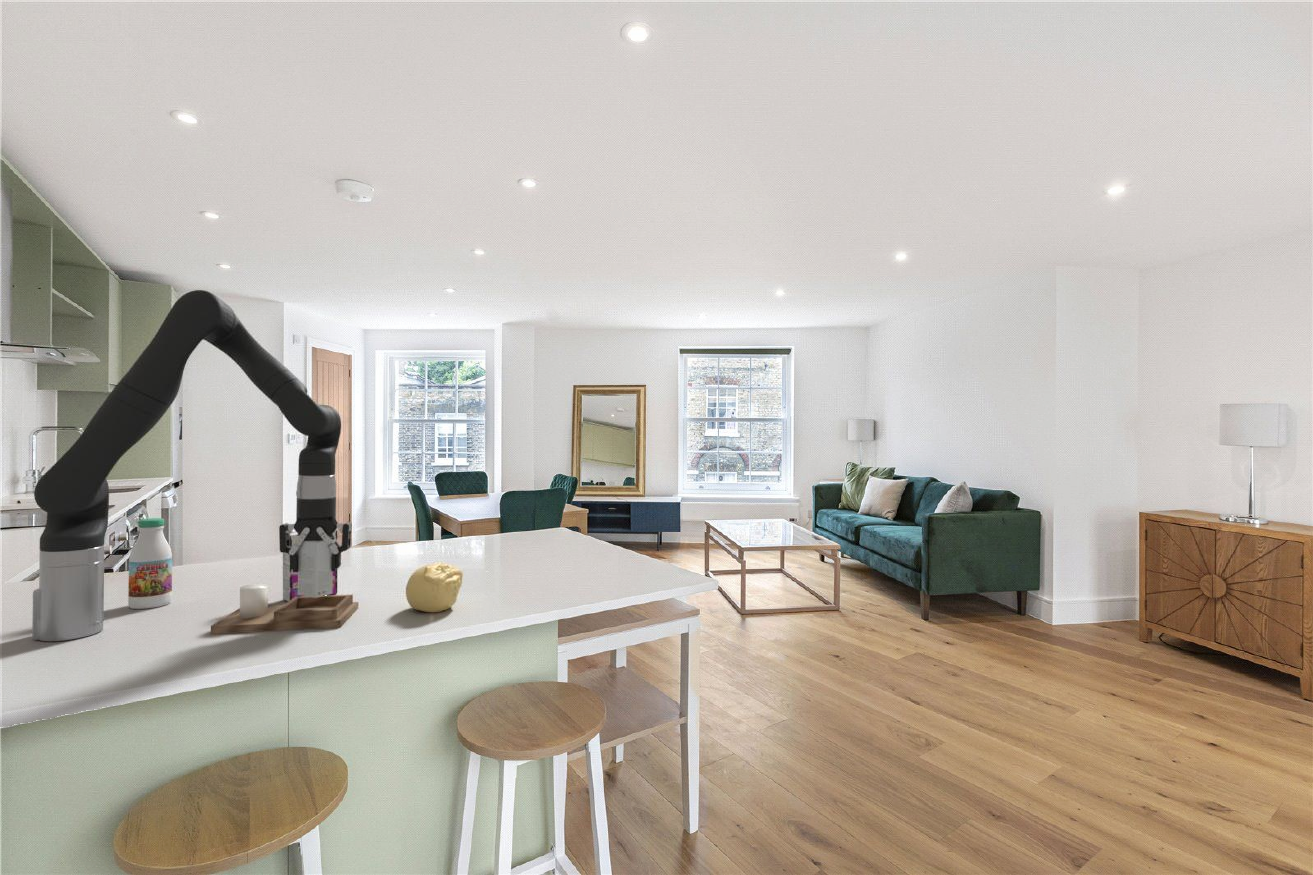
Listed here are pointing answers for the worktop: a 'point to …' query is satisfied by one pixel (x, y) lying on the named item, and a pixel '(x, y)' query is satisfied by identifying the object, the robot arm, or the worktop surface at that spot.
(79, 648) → the worktop surface
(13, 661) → the worktop surface
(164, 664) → the worktop surface
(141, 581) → the milk bottle
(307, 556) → the skincare box
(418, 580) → the sculpture
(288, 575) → the candy bar box
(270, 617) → the walnut organizer
